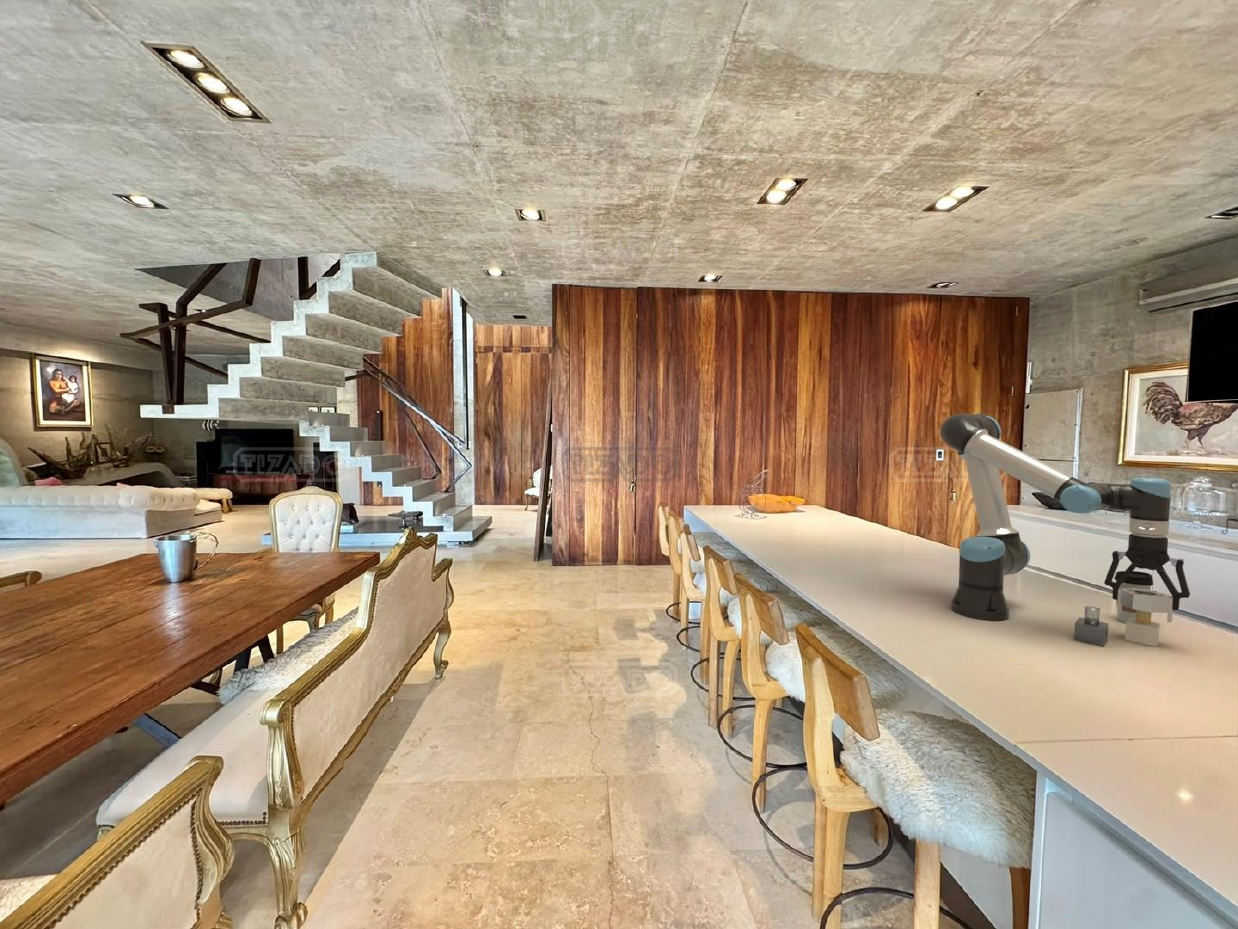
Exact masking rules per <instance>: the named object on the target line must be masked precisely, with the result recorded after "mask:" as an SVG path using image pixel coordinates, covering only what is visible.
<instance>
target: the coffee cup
mask: <svg viewBox="0 0 1238 929" xmlns="http://www.w3.org/2000/svg"><path fill="white" fill-rule="evenodd" d="M1125 571H1126V570H1123V571H1122V570H1121V571H1116V572H1115V574H1114V577H1113V580H1114V581H1115V582H1116V581H1117V580H1118V579H1119V578H1120V577H1121V575H1122V574H1123V573H1124V572H1125ZM1152 586H1154V581H1153V575H1152V574H1151V573H1148V572H1144V571H1135V570H1133V571H1132V573H1131V574H1130V575H1129V576H1128V577H1127V578H1126V580H1125V581H1124V582H1123V583H1122V584H1121V585H1120V588H1139V589H1145V590H1151V588H1152ZM1151 591H1152V590H1151ZM1115 601H1116V603H1117V602H1118V600H1115ZM1116 613H1117V612H1116ZM1116 616H1117V620H1118V622H1122V623H1124V624H1126V622H1127V620H1128V619H1129V617H1130V618H1135V619H1136V610H1135V609H1131V608H1128V607H1126V606H1123V605H1122V612H1121V613H1117V615H1116Z"/></svg>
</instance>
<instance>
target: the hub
mask: <svg viewBox="0 0 1238 929" xmlns="http://www.w3.org/2000/svg"><path fill="white" fill-rule="evenodd" d="M1160 629H1161V623H1160V622H1157V621H1156V622H1155V621H1152V612H1146V611H1140V610H1136V619H1135V618H1130V617H1129V619H1128V620H1127V622H1126V623H1125V638H1124V640H1125V641H1129V642H1132V643H1137V644H1142V645H1146V646H1150V647H1155V648H1156V647H1158V644H1159V642H1160Z"/></svg>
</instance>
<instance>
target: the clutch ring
mask: <svg viewBox="0 0 1238 929" xmlns="http://www.w3.org/2000/svg"><path fill="white" fill-rule="evenodd" d="M1169 596H1171V594H1166V593H1163V592H1160V591H1156V590H1145V589H1139V588H1123V589H1122V590H1121V605H1123V606H1126V607H1128V608H1131V609H1135V610H1140V611H1146V612H1152V613H1153V614H1154V613H1156V614H1159V613H1160V614H1168V599H1169Z"/></svg>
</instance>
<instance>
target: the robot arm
mask: <svg viewBox="0 0 1238 929" xmlns="http://www.w3.org/2000/svg"><path fill="white" fill-rule="evenodd" d="M1001 429H1002V428H1001V426H1000V424H999V423H998V421H997V420H996V419H994V418H993V417H991V416H988V415H986V414H980V413H973V414H972V413H956V414H953V415H950V416H949V417H948V418H946V419H945V420H944V421H943V422H942V424H941V426H940V430H939V431H940V432H939V434H940V438H941V440H942V441H943V443H944V444H946V445H947V447H950V448H952V449H954V450H955V451H957V455H958V458H961V459H962V460H964V462H965V468H966V471H967V475H968V480H969V484H970V488H971V493H972V497H973V502H974V507H975V511H976V515H977V519H978V520H977V521H978V525H979V528H980V529H979V531H978V533H977V534H976V536H971V537H966V538H964V539H962V541H961V542H960V547H959V549H958V550H959V551H958V553H959V563H958V568H959V569H958V586H957V588H956V591H955V593H954V595H953V598H952V599H951V604H950V605H951V606H950V608H951V610H953V611H954V612H955V613H957V614H960V615H962V616H966V617H970V618H972V619H978V620H984V621H985V620H986V621H987V620H988V621H1006V620H1008V619H1009V618H1010V609H1009V608H1010V607H1009V605H1008V603H1007V600H1006V597H1005V593H1004V581H1005V580H1004V578H1005V577H1004V576H1008V575H1014V574H1018V573H1019V572H1021V571H1022V570H1023V569H1025V568H1026V567H1027V566H1028V565H1029V562H1030V559H1031V552H1030V549H1029V547H1028V546H1027V544H1026V543H1025V542H1024V541H1022V539H1021V535H1020V532H1019V530H1017V529H1016V528H1014V527H1013V526H1012V523H1011V519H1010V513H1009V509H1008V505H1007V502H1006V501H1007V500H1006V496H1005V493H1004V492H1005V491H1004V488H1003V483H1002V480H1001V475H1000V471H1002V472H1003V473H1006V474H1008V475H1010V476H1011V477H1013V478H1015V479H1017V480H1019V481H1020V482H1022V483H1024V484H1026V485H1028V486H1030V487H1031V488H1034V489H1035V490H1038V491H1039V492H1040V493H1043V494H1045V495H1047V496H1049V497H1050V498H1052V499H1054V500H1056V501H1058V502H1059V503H1061V505H1062V507H1063V508H1064V509H1065V510H1067V511H1069V512H1071V513H1074V514H1089V513H1092V512H1096V511H1101V510H1103V511H1104V510H1107V511H1122V512H1129V525H1128V531H1129V532H1130V534H1128V545H1127V546H1128V547H1127V550H1126V551H1119V550H1114V551H1113V552H1112V554H1111V555H1112V556H1111V557H1112V560H1111V564H1110V566H1109V568H1108V571H1107V573H1106V574H1107V575H1106V577H1105V579H1104V582H1103V583H1104V585H1105V586H1108V587H1111V588H1112V600H1114V601H1116V600H1118V602H1117V601H1116V613H1121V612H1122V605H1121V590H1122V589H1123V588H1120V585H1121V584H1122V583H1123V582H1124V581H1125V580H1126V578H1127V577H1128V576H1129V575H1130V574H1131V573H1132V571H1135V569H1136V568H1138V569H1139V570H1145V569H1147V570H1150V571H1156V573H1157V574H1158V575H1159V578H1160V579H1161V581H1162V582H1163V584H1164V585H1165V587H1166V589H1167V590H1168V592H1169V593H1170V596H1169V599H1168V613H1167V619H1166V621H1167V623H1172V622H1173V614H1174V611H1178V610H1179V609H1180V600H1181V599H1183V598H1186V599H1188V598H1190V596H1191V592H1190V589H1189V585H1188V582H1187V578H1186V575H1185V571H1184V570H1185V569H1184V564H1185V560H1184V559H1183V558H1177V557H1176V558H1174V557H1170V555H1169V554H1168V549H1169V538H1168V537H1166V536H1169V534H1170V533H1169V531H1170V529H1169V528H1170V509H1171V498H1172V495H1171V482H1170V480H1167V479H1165V478H1155V477H1154V478H1153V477H1133V478H1132V480H1131V482H1130V484H1129V483H1128V484H1125V483H1124V484H1123V483H1122V484H1121V483H1120V484H1119V483H1109V482H1108V483H1107V482H1095V481H1087V482H1086V481H1082V480H1081V479H1078V478H1075V477H1074V476H1073V475H1070V474H1068V473H1066V472H1064V471H1062V470H1060V469H1058V468H1057V467H1055V466H1052V465H1050V464H1048V463H1046V462H1044V461H1042V460H1040V459H1038V458H1036V457H1034V456H1033V455H1030V454H1028V453H1026V452H1024V451H1021V450H1020V449H1018V448H1016V447H1015V446H1012V445H1010V444H1007V443H1006V442H1004V441H1002V440H1001V435H1002V430H1001ZM999 470H1000V471H999ZM1124 557H1126V558H1127V559H1128V560H1129V561H1130V562H1131V563H1130V565H1129V566H1128V567H1127V568H1126V570H1124V571H1125V572H1124V573H1123V574H1122V575H1121V577H1120V578H1119V579H1118V580H1117V581H1116V580H1115V581H1113V580H1114V578H1115V575H1116V572H1117V569H1118V566H1119V564H1120V560H1123V559H1124ZM1168 562H1170V564H1171V566H1172V567H1175V574H1176V576H1177V580H1178V583H1179V586H1180V590H1181V592H1180V591H1178V589H1177V588H1176V586H1175V584H1174V583H1173V581H1172V580H1171V578H1170V577H1169V575H1168V573H1167V571H1166V568H1164V565H1166V564H1168Z"/></svg>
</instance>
